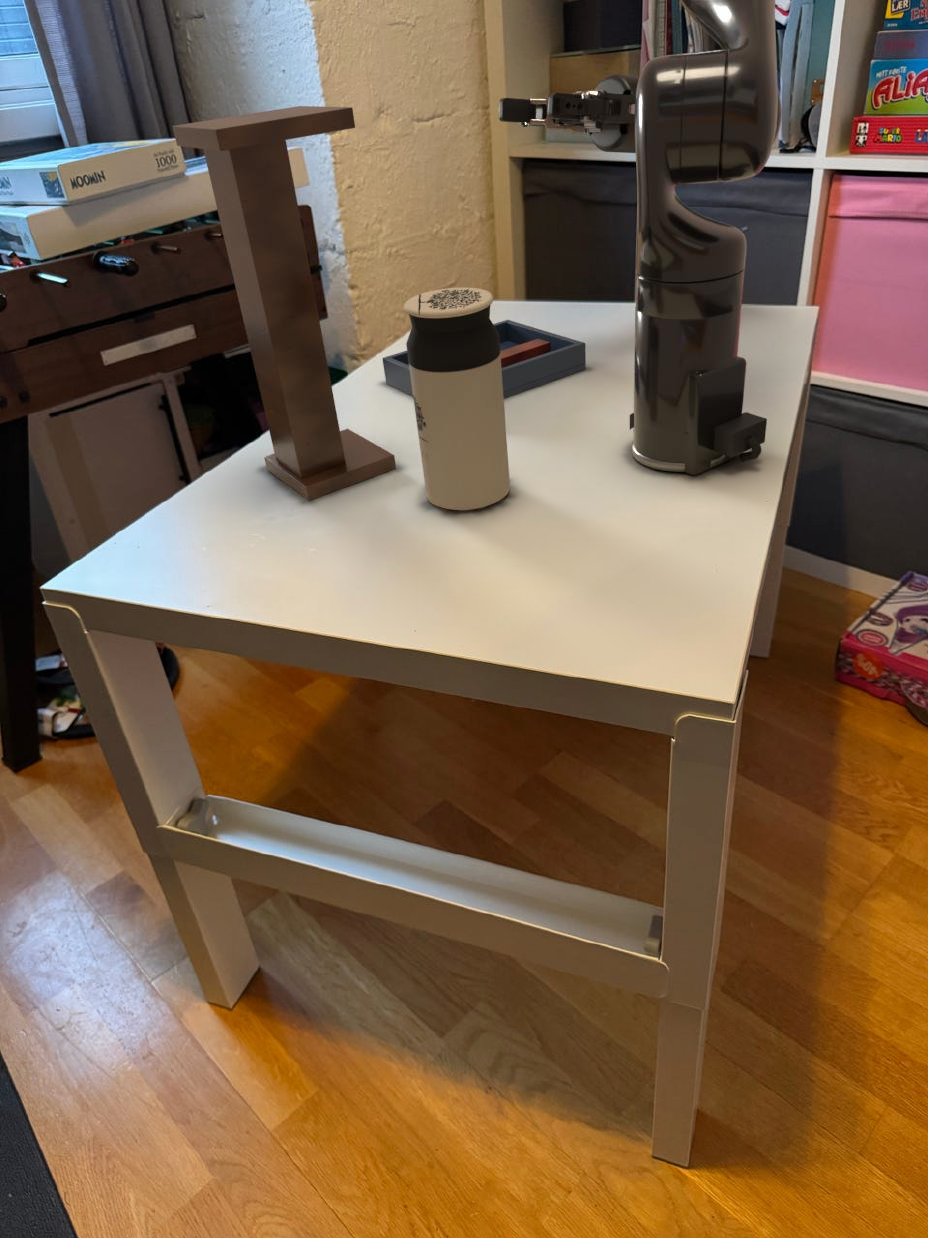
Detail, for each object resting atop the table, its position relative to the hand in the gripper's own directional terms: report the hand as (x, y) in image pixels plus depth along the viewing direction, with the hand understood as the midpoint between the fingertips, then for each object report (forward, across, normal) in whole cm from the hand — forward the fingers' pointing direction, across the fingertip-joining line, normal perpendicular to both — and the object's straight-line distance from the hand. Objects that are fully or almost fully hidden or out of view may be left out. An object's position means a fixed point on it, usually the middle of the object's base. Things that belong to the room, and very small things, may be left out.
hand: (524, 107), depth 91 cm
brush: (0, -5, +28) cm, 29 cm away
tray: (-1, -7, +29) cm, 30 cm away
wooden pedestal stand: (+26, +3, +34) cm, 43 cm away
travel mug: (+19, +18, +34) cm, 42 cm away
